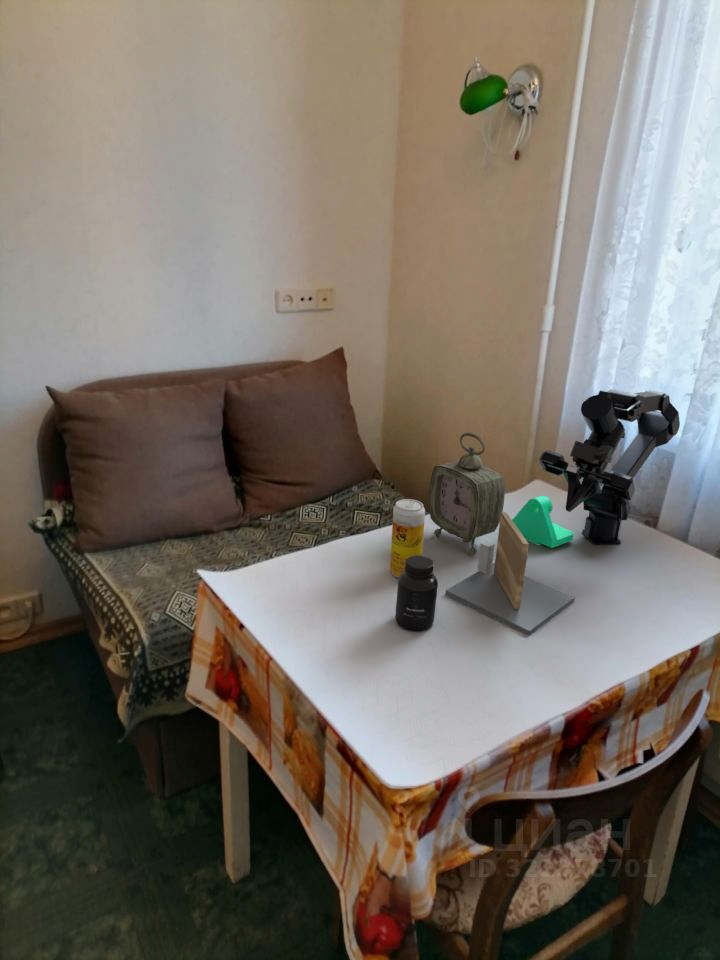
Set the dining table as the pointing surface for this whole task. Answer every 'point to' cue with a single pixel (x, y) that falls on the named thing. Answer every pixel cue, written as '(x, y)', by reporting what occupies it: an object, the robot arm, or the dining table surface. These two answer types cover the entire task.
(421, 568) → the supplement bottle
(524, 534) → the camera mount
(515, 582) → the door
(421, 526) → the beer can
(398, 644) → the dining table surface
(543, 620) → the housing stand
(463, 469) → the tabletop clock
